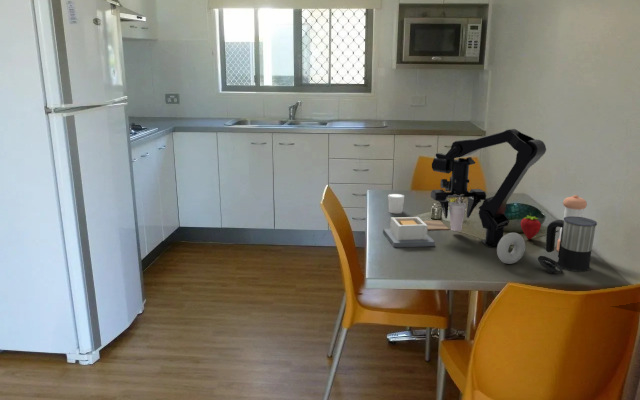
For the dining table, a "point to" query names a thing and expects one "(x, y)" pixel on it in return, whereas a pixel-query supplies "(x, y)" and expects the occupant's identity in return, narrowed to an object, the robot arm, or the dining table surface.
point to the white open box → (408, 233)
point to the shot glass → (395, 203)
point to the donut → (505, 244)
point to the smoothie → (457, 214)
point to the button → (408, 223)
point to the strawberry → (530, 226)
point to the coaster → (435, 225)
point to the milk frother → (570, 244)
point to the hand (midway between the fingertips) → (456, 217)
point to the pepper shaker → (572, 210)
